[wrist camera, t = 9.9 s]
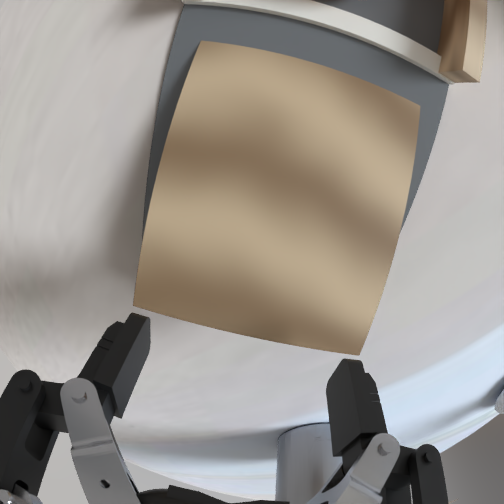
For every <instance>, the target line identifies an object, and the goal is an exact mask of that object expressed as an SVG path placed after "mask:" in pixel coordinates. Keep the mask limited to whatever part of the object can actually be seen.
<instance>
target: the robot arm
mask: <svg viewBox="0 0 504 504" xmlns="http://www.w3.org/2000/svg"><path fill="white" fill-rule="evenodd" d="M150 342H151V341H150V318H149V317H145V316H142V315H139V314H135V313H131V314H130V315H129V317H128V318H127V320H126V322H125V323H121V322H118V321H117V322H115V323H114V324H113V325H111V326H110V327H108V328H107V330H106V331H105V333H104V334H103V336H102V339H100V341H99V342H98V344H97V347H95V349H94V351H93V352H92V354H91V356H90V357H89V359H88V361H87V362H86V364H85V366H84V368H83V369H82V371H81V373H80V374H79V376H78V377H77V378H73V379H70V380H68V381H67V382H66V383H54V382H47V381H41V380H40V378H39V376H38V375H37V374H36V373H35V372H33V371H31V370H20V371H18V372H17V373H15V374H14V375H13V376H12V378H11V380H10V381H9V383H8V385H7V387H6V389H5V390H4V392H3V394H2V396H1V398H0V504H43V503H42V502H41V500H40V499H39V498H38V497H37V495H38V492H39V488H40V485H41V482H42V478H43V476H44V472H45V470H46V467H47V464H48V461H49V458H50V455H51V452H52V450H53V447H54V444H55V442H56V439H57V437H58V434H59V432H66V433H69V436H70V439H71V443H72V448H71V455H72V459H73V462H74V465H75V468H76V471H77V474H78V477H79V479H80V482H81V485H82V488H83V490H84V493H85V495H86V498H87V500H88V503H89V504H411V493H410V485H411V488H412V498H413V504H448V497H447V490H446V484H445V478H444V473H443V467H442V463H441V457H440V454H439V451H438V450H437V449H436V448H435V447H434V446H432V445H430V444H424V445H422V446H420V447H419V448H418V449H412V448H408V447H404V446H400V445H399V443H398V441H397V440H396V438H394V437H393V436H392V435H390V434H388V432H387V428H386V424H385V419H384V415H383V411H382V407H381V403H380V399H379V395H378V391H377V387H376V383H375V381H374V380H373V378H372V377H371V375H370V374H369V373H365V371H364V368H363V364H362V362H361V361H360V360H352V359H343V360H342V361H341V362H340V364H339V365H338V367H337V368H336V370H335V371H334V373H333V374H332V376H331V377H330V379H329V381H328V383H327V388H326V395H327V404H328V413H329V422H330V424H314V425H308V426H303V427H299V428H296V429H292V430H290V431H288V432H286V433H284V434H283V435H281V436H280V437H279V439H278V451H277V473H276V495H275V501H267V500H258V501H251V502H242V503H226V502H223V501H221V500H219V499H216V498H213V497H211V496H208V495H206V494H204V493H201V492H199V491H193V490H189V489H184V488H180V487H176V486H172V485H169V488H168V489H153V490H147V491H144V492H140V493H139V491H138V489H137V487H136V485H135V483H134V481H133V479H132V476H131V474H130V472H129V470H128V468H127V466H126V464H125V462H124V459H123V457H122V455H121V452H120V450H119V447H118V445H117V442H116V440H115V437H114V434H113V432H112V429H111V426H110V424H111V421H112V419H113V416H116V417H118V418H122V416H123V413H124V411H125V408H126V406H127V404H128V401H129V399H130V396H131V394H132V391H133V389H134V387H135V384H136V382H137V380H138V377H139V375H140V373H141V370H142V368H143V366H144V363H145V361H146V359H147V356H148V354H149V350H150Z"/></svg>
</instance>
